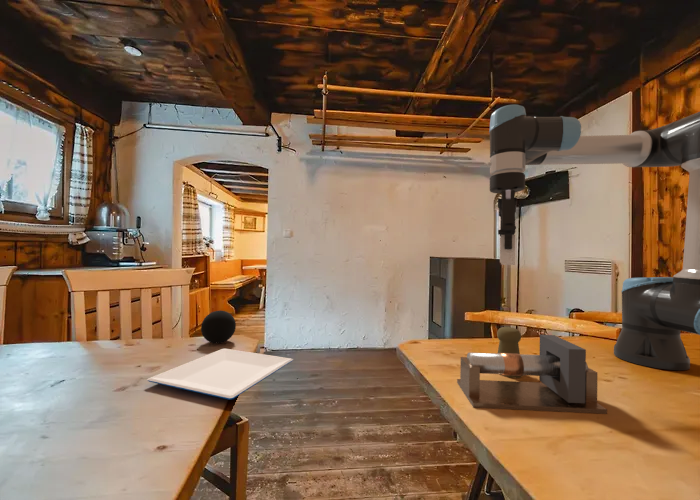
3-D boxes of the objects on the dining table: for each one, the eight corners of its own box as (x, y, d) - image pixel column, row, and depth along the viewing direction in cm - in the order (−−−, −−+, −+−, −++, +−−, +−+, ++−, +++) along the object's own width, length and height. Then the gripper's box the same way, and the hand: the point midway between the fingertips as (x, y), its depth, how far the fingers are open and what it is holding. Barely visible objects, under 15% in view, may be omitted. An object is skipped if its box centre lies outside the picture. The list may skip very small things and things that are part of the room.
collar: (553, 380, 67) (554, 335, 67) (585, 403, 57) (585, 349, 57) (539, 380, 67) (539, 334, 67) (568, 402, 57) (569, 349, 57)
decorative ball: (196, 348, 90) (197, 314, 90) (205, 338, 100) (206, 308, 100) (232, 346, 92) (233, 313, 92) (237, 337, 102) (238, 307, 102)
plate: (145, 388, 65) (145, 378, 65) (223, 355, 86) (223, 347, 86) (231, 408, 57) (231, 397, 57) (293, 366, 78) (293, 358, 78)
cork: (526, 379, 72) (526, 331, 72) (498, 376, 73) (499, 330, 73) (517, 369, 78) (518, 325, 78) (492, 367, 79) (492, 324, 79)
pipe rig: (568, 387, 67) (569, 347, 67) (607, 413, 56) (607, 366, 56) (457, 382, 69) (457, 344, 69) (473, 407, 58) (473, 361, 58)
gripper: (490, 186, 86) (489, 261, 86) (488, 162, 63) (488, 265, 63) (520, 183, 83) (520, 262, 83) (530, 158, 60) (530, 266, 60)
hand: (506, 263), depth 73 cm, fingers open, 13 cm apart
